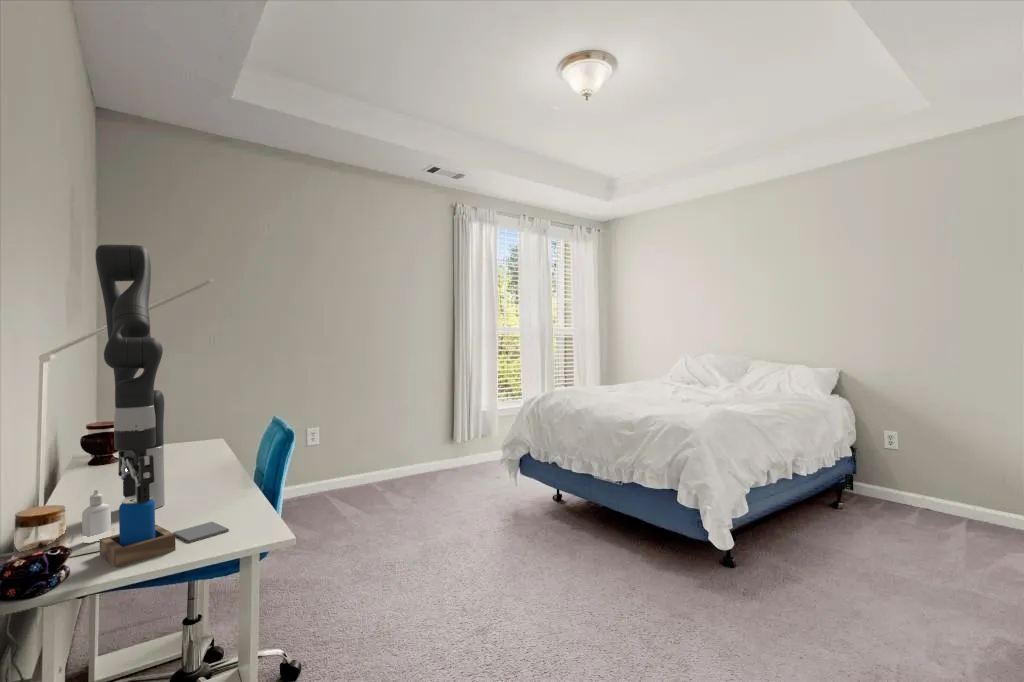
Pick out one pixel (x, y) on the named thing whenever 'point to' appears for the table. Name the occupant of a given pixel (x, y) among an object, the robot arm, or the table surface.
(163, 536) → the walnut collar
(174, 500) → the table surface
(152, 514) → the beverage can
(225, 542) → the table surface
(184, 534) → the rubber mat
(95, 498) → the eye dropper bottle
